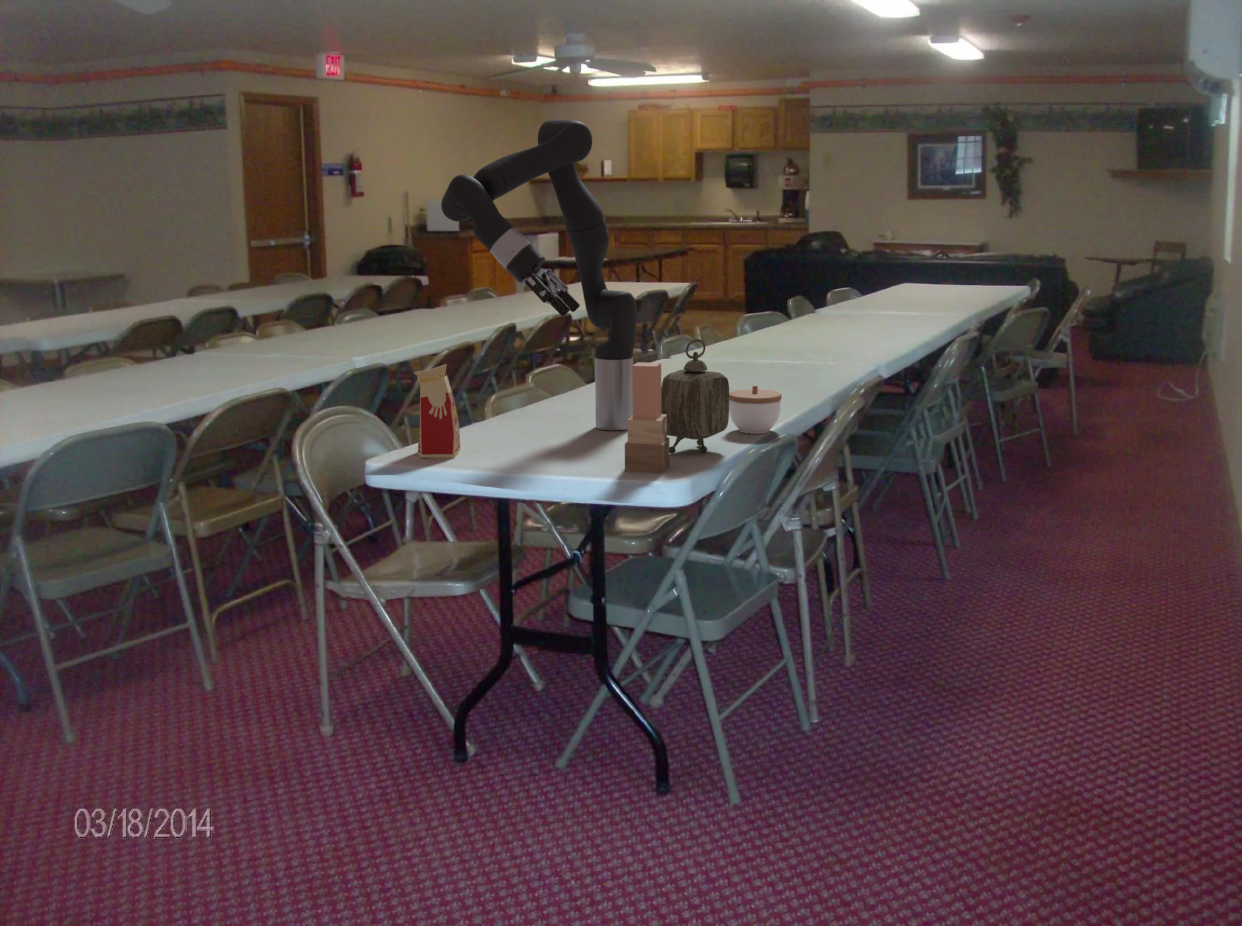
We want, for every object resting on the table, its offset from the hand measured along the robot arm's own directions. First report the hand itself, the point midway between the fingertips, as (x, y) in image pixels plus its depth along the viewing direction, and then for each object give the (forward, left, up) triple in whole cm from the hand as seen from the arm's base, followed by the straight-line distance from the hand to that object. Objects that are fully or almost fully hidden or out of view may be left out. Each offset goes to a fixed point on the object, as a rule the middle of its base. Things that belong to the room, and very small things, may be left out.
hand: (572, 311), depth 250 cm
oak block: (-2, +17, -26) cm, 31 cm away
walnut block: (-2, +17, -32) cm, 36 cm away
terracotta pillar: (-2, +17, -21) cm, 27 cm away
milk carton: (+5, -32, -32) cm, 46 cm away
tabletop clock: (-21, +19, -32) cm, 43 cm away
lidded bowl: (-48, +23, -32) cm, 62 cm away
